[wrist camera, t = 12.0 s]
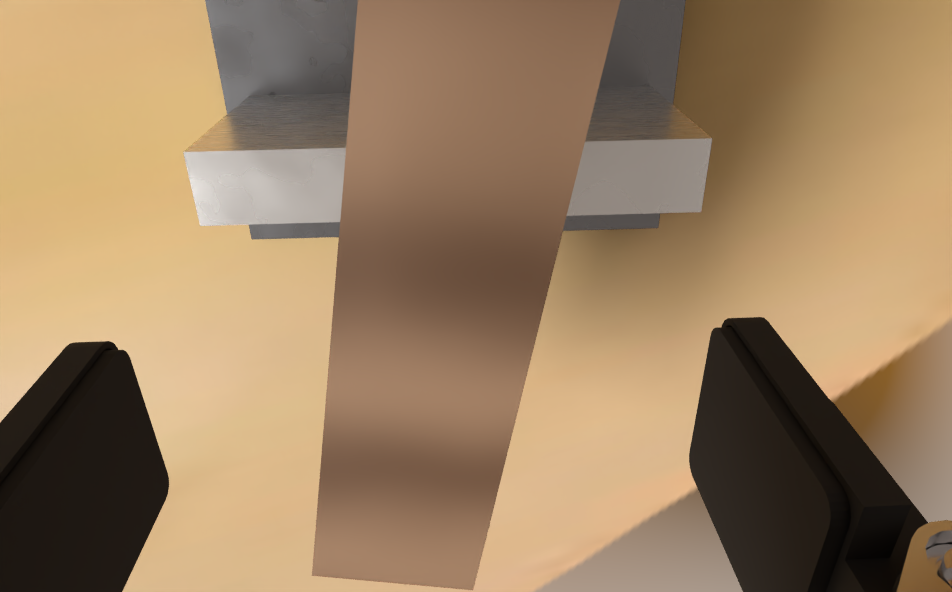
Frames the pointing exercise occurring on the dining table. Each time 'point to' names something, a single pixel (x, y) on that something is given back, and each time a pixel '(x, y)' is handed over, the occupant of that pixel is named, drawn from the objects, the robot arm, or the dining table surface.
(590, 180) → the ridge stand
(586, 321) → the dining table surface
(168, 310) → the dining table surface
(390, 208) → the brown wooden block
